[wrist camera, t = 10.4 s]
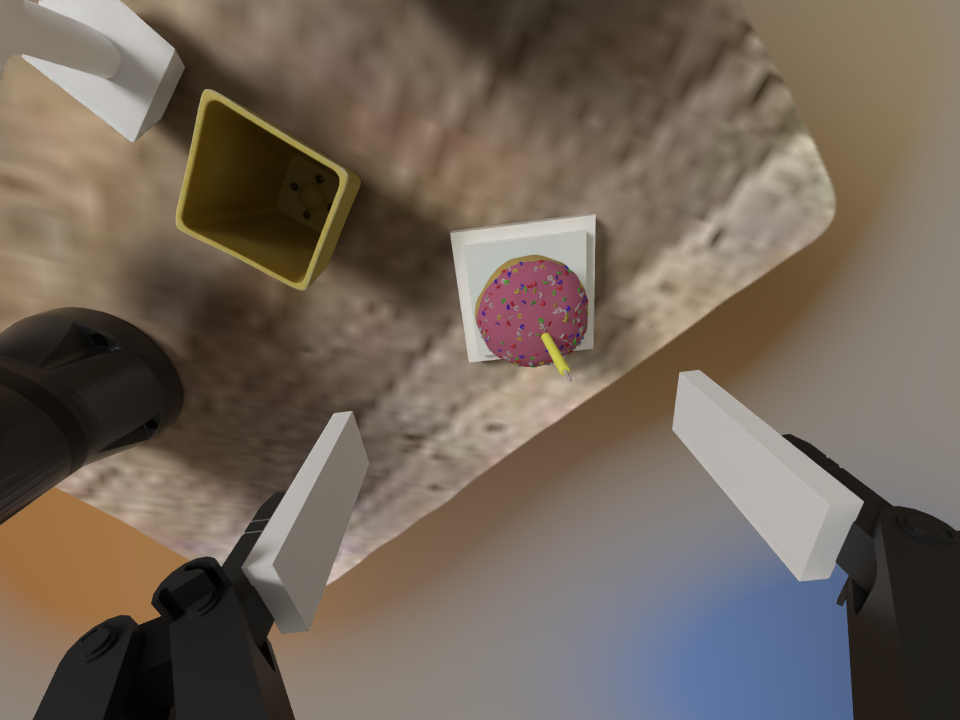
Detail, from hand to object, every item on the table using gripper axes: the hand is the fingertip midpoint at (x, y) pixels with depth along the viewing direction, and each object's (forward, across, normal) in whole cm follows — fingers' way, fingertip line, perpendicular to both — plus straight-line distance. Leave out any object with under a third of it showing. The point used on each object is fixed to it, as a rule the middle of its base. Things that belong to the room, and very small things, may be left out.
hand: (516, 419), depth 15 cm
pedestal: (+21, +3, 0) cm, 22 cm away
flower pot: (+22, -14, +10) cm, 28 cm away
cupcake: (+19, +3, 0) cm, 19 cm away
